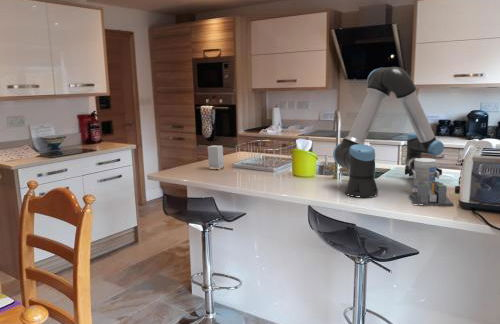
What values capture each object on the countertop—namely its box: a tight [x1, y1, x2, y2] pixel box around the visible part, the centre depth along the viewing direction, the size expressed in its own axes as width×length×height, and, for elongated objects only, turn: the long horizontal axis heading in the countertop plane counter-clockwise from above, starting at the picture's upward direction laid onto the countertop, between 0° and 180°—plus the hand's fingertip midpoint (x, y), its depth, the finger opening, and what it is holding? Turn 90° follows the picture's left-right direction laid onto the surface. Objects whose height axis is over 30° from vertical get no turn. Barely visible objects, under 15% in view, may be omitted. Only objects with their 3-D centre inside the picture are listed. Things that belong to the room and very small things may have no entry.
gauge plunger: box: [416, 181, 440, 202], centre depth 178 cm, size 10×9×8 cm
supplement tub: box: [412, 157, 437, 192], centre depth 189 cm, size 10×10×15 cm
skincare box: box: [207, 144, 225, 168], centre depth 265 cm, size 8×7×16 cm
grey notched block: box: [408, 182, 454, 207], centre depth 178 cm, size 12×16×8 cm
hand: (426, 175), depth 185 cm, fingers closed on supplement tub, 9 cm apart
